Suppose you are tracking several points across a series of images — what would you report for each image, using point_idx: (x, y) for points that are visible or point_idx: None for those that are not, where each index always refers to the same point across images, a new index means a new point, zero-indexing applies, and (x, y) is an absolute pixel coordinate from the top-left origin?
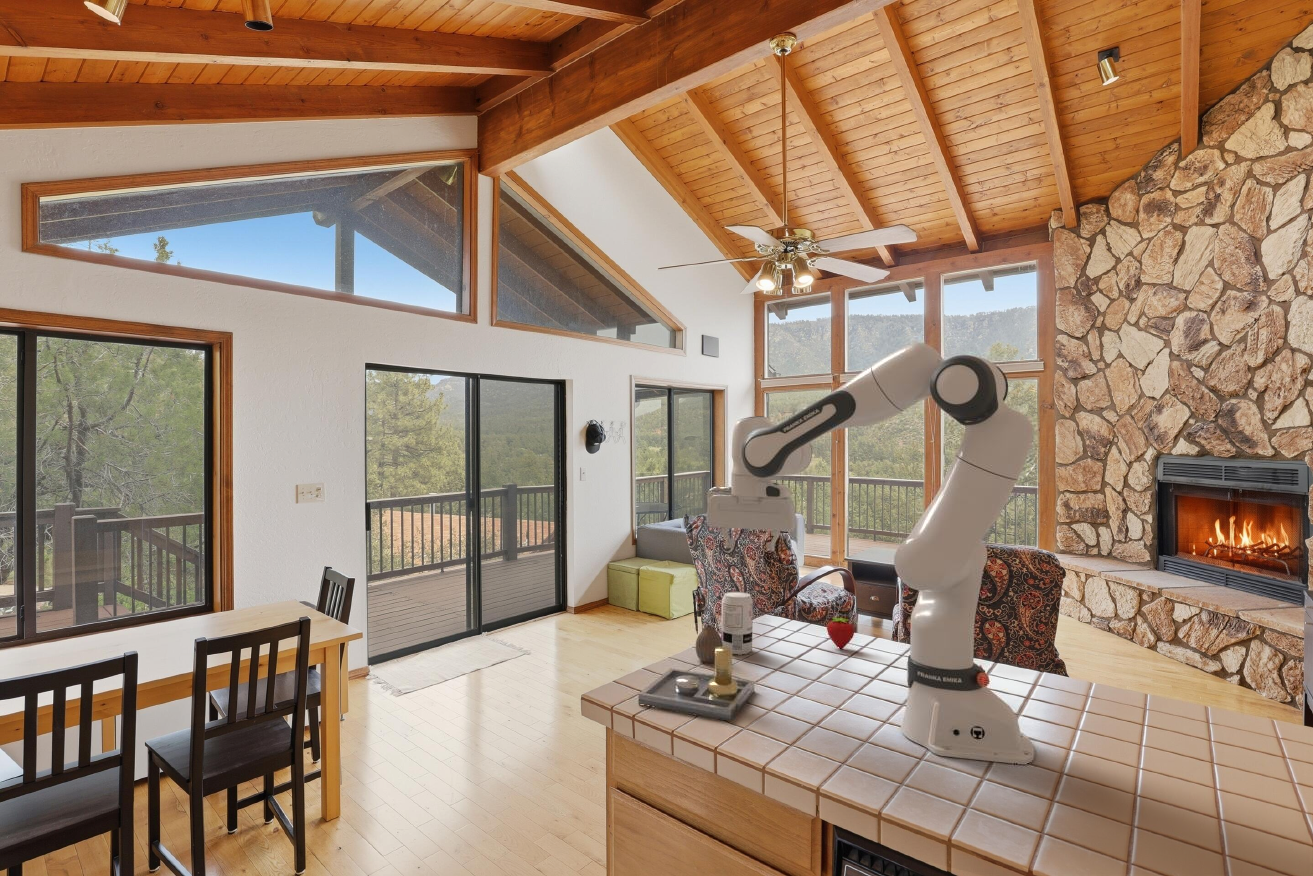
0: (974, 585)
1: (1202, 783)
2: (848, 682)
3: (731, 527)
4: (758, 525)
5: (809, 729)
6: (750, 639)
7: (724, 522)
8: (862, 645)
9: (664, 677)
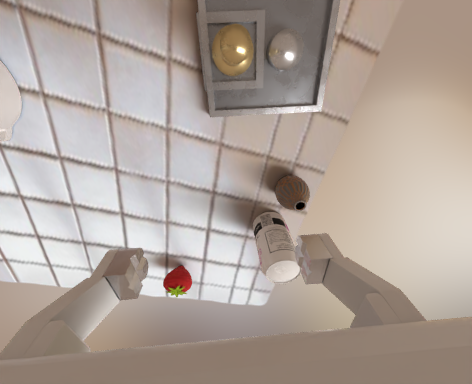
0: None
1: None
2: (136, 192)
3: (356, 330)
4: None
5: (96, 11)
6: (254, 231)
7: (454, 372)
8: None
9: (322, 69)
